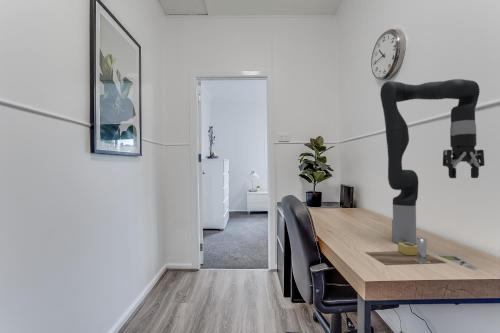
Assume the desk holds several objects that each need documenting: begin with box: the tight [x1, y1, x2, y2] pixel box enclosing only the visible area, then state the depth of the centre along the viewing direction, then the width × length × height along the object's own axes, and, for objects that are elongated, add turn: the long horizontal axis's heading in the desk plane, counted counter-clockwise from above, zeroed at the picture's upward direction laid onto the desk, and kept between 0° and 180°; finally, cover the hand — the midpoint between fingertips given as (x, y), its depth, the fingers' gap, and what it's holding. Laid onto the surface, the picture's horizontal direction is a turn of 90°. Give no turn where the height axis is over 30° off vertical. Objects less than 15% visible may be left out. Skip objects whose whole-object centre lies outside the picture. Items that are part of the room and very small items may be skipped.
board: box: [364, 250, 447, 266], centre depth 97 cm, size 14×22×2 cm, turn 95°
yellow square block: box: [397, 243, 417, 255], centre depth 101 cm, size 5×5×4 cm
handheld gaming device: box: [434, 253, 478, 270], centre depth 97 cm, size 9×1×15 cm
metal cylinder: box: [416, 237, 428, 263], centre depth 93 cm, size 3×3×9 cm
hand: (463, 178), depth 98 cm, fingers open, 8 cm apart
